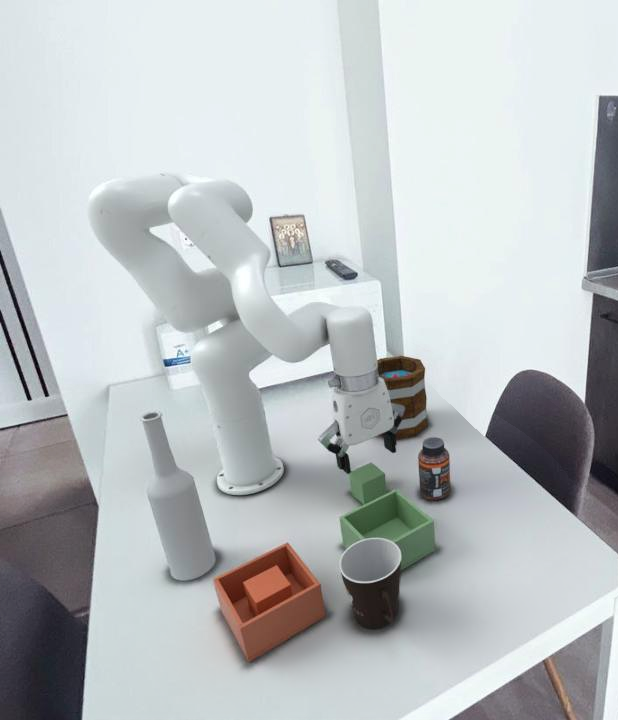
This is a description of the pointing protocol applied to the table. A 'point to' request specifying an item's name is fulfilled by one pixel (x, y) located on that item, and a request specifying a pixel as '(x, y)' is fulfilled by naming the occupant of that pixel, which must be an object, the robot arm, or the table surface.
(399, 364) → the mug
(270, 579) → the terracotta block
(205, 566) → the bottle
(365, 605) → the coffee mug
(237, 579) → the terracotta bin
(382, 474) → the sage block
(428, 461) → the supplement bottle
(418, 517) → the sage bin
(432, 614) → the table surface
